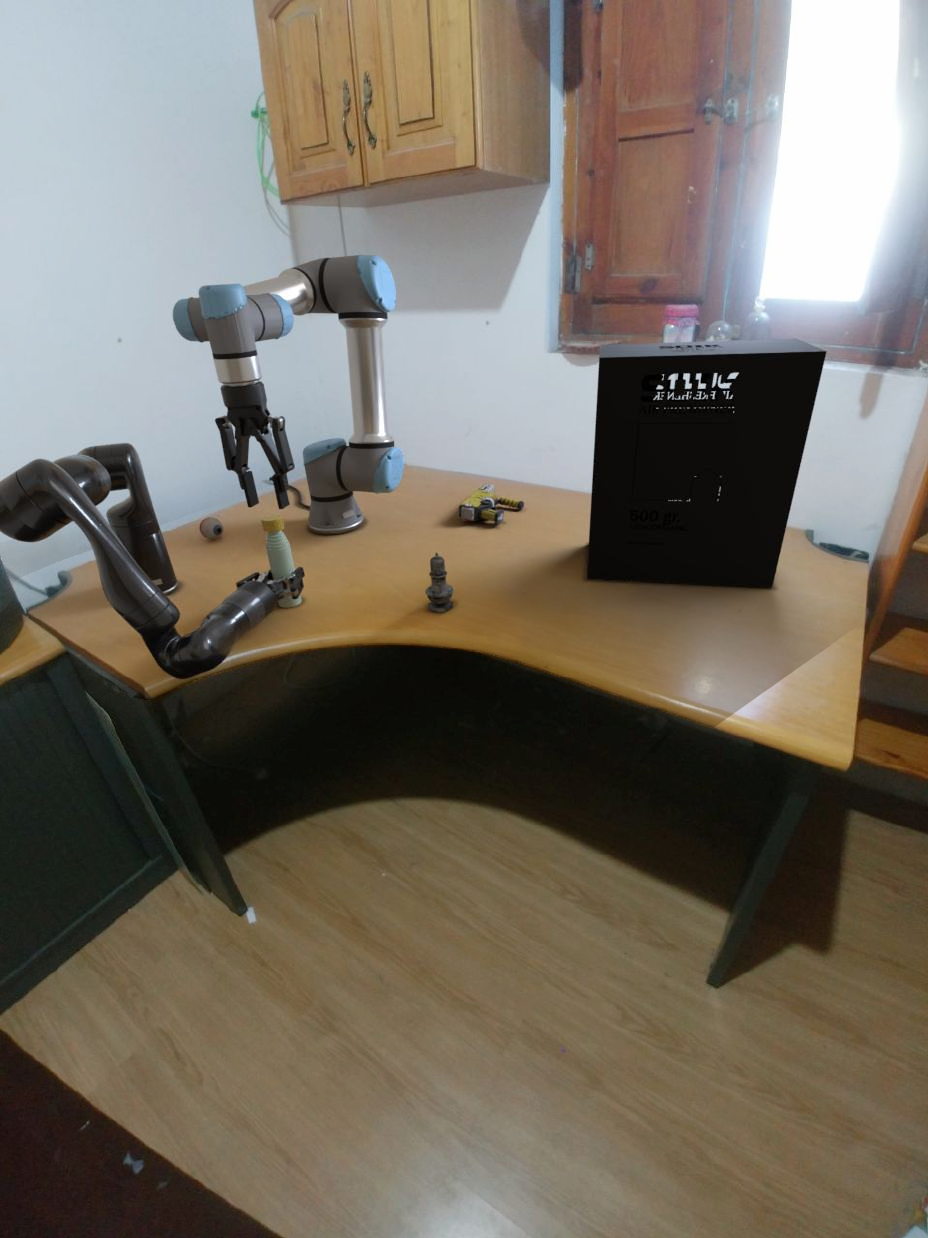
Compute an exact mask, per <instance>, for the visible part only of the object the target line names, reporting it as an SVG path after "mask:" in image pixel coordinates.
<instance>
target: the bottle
mask: <svg viewBox="0 0 928 1238" xmlns="http://www.w3.org/2000/svg"><path fill="white" fill-rule="evenodd" d="M266 533H267V534H266V537H265V538H266V539H265V550H266V554H267V559H268V564H269V568H270V569H271V572H272V576H273V580H275V579H277V578H279V577H281V576H284V577H286V576H288V575H290V574H291V573H292V572H293V571H294V570H296V568H295V563H294V558H293V554H292V549H291V544H290V541H289V540H288V538H287V536H286V534H285V533H284V531H283V529H282V530H280V531H277V532H266ZM281 583H282V582H281ZM289 584H291V580H289ZM301 596H302V595H301V594H300V595H299V597H298V599H292V596H285V597H284V598H283V599H281V600H279V601H277V603H278V605H279V607H281V608H285V609H288V608H294V607H296V606H297V607H298V606H299V605H300V604H301V603H302V597H301Z"/></svg>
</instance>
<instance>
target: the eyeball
mask: <svg viewBox="0 0 928 1238" xmlns="http://www.w3.org/2000/svg"><path fill="white" fill-rule="evenodd" d="M198 529H199V533H200V534H201V535H202V537H203V538H205V539H206V540H210V541H211V540H212V541H213V540H217V539H219V538H221V537H222V535H223V533H224V525H223V522H222V521H221V520H219V519H218V518H216V517H210V516H209V517H206V518H204V519H203V520H201V522H200V523H199V528H198Z"/></svg>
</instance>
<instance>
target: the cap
mask: <svg viewBox="0 0 928 1238" xmlns="http://www.w3.org/2000/svg"><path fill="white" fill-rule="evenodd" d="M260 520H261V521H260V522H261V526H262V530H263V531H264V532H266V533H268V532H277V531H280V530H282V531H283V529H285V524H284V520H283V515H281V514H279V513H270V514H269V513H268V514H266V515H263V516H262V517H261V518H260Z"/></svg>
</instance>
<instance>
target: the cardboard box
mask: <svg viewBox="0 0 928 1238" xmlns="http://www.w3.org/2000/svg"><path fill="white" fill-rule="evenodd" d="M827 352H828V351H827V350H824V349H822V348H820V347H818V346H815V345H813V344H811V343H808V342H806V341H802V340H801V339H799V338H768V339H766V338H765V339H737V340H736V339H735V340H709V341H708V340H707V341H705V340H703V341H675V342H672V341H671V342H648V343H647V342H646V343H645V342H644V343H643V342H642V343H616V344H615V343H614V344H612V343H611V344H600V348H599V355H598V356H599V358H598V370H597V371H598V372H597V390H596V391H597V392H596V409H595V410H596V411H595V426H594V445H593V459H592V460H593V461H592V462H593V463H592V479H591V497H590V515H589V532H588V533H589V535H588V547H587V548H588V549H587V568H586V580H588V581H611V582H635V583H655V584H657V583H658V584H675V585H676V584H679V585H698V586H699V585H703V586H725V587H743V588H744V587H745V588H746V587H747V588H768V589H773V586H774V582H775V578H776V573H777V569H778V565H779V560H780V555H781V550H782V548H783V543H784V540H785V539H784V538H785V534H786V530H787V525H788V521H789V517H790V513H791V512H790V511H791V509H792V504H793V499H794V496H795V490H796V486H797V483H798V477H799V474H800V469H801V465H802V461H803V456H804V451H805V447H806V444H807V443H806V442H807V439H808V434H809V429H810V425H811V421H812V416H813V412H814V408H815V404H816V400H817V395H818V391H819V387H820V382H821V378H822V373H823V368H824V365H825V360H826V356H827ZM685 374H689V378H688V385H690V388H686V384H687V379H685V378H684V375H685ZM699 374H700V379H699V378H697V375H699ZM715 374H716V380H715V384H714V386H713V383H714V378H715ZM731 374H736V376H735V378H729V377H730V376H731ZM672 375H677V378H676V379H675V380H674V384H673V385H674V387H673V388H671V385H672V379H671V378H670V377H671V376H672ZM719 379H720V381H719ZM700 384H701V385H705V387H704V388H699V385H700ZM719 384H720V385H724V384H729V387H720V386H719ZM659 386H661V387H662V388H658V387H659Z"/></svg>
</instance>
